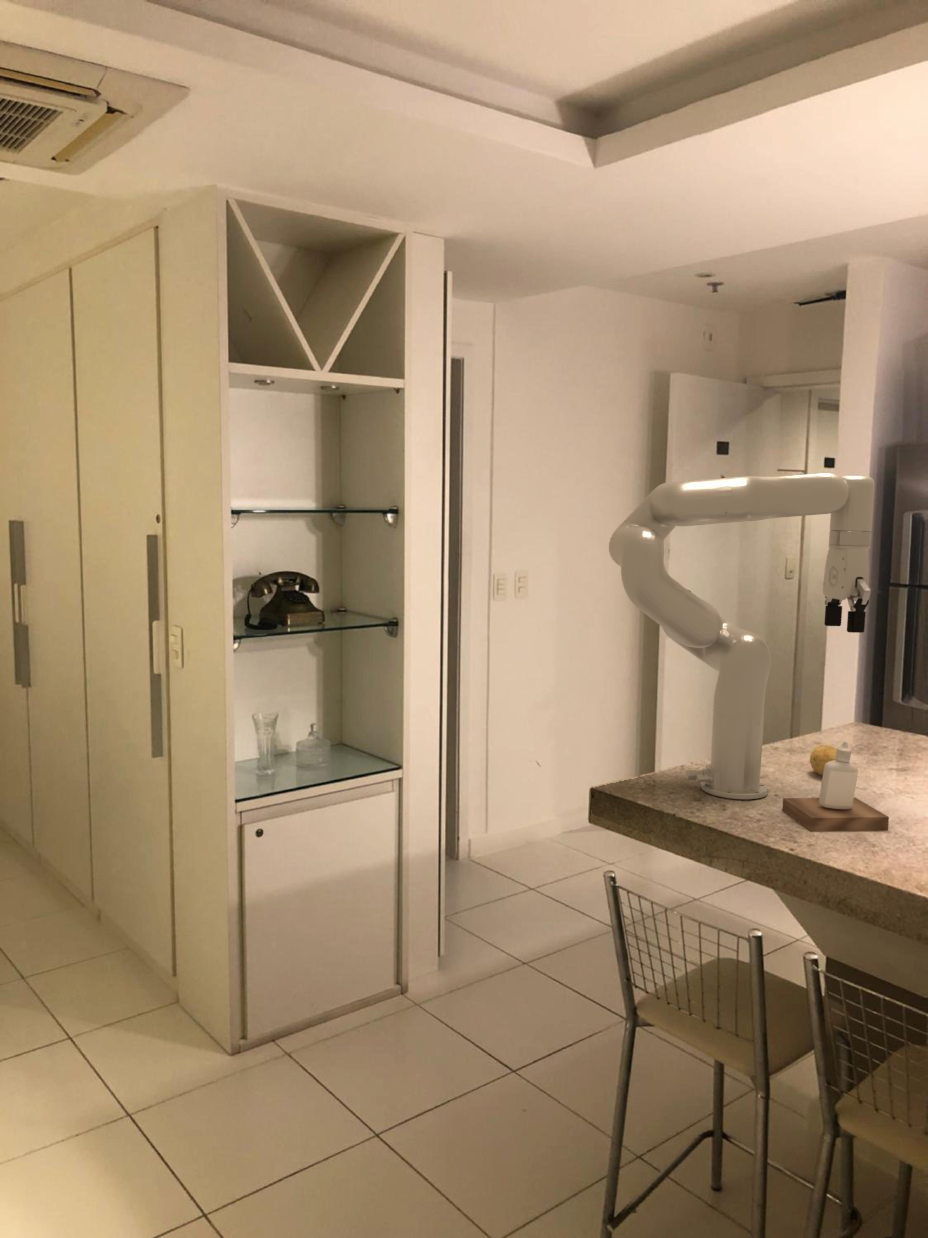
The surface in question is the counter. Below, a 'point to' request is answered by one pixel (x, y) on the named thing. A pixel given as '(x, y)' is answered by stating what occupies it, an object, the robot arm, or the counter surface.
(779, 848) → the counter surface
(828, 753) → the potato
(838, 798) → the grey tapered bottle shape
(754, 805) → the counter surface
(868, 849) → the counter surface
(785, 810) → the walnut block
